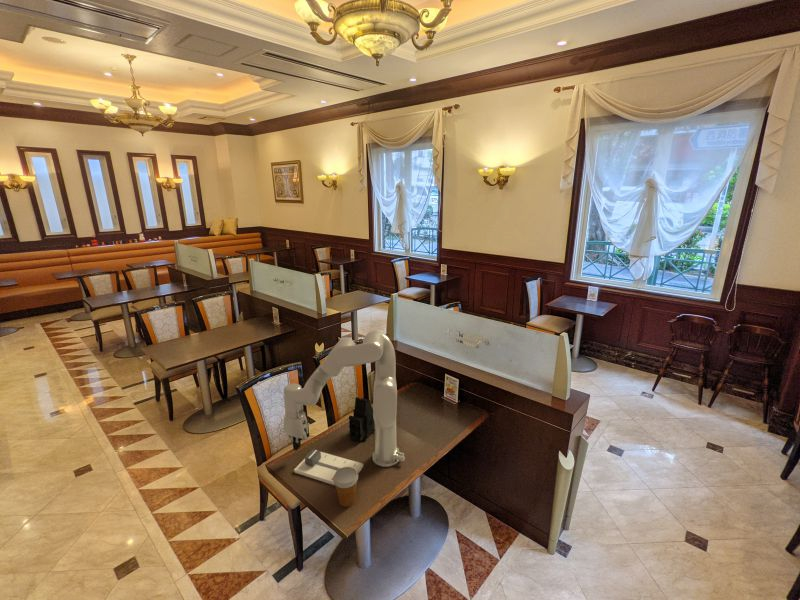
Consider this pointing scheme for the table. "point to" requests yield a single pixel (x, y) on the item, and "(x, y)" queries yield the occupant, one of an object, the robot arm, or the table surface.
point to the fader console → (326, 467)
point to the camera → (361, 420)
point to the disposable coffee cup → (346, 485)
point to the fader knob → (313, 457)
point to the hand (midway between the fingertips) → (297, 448)
